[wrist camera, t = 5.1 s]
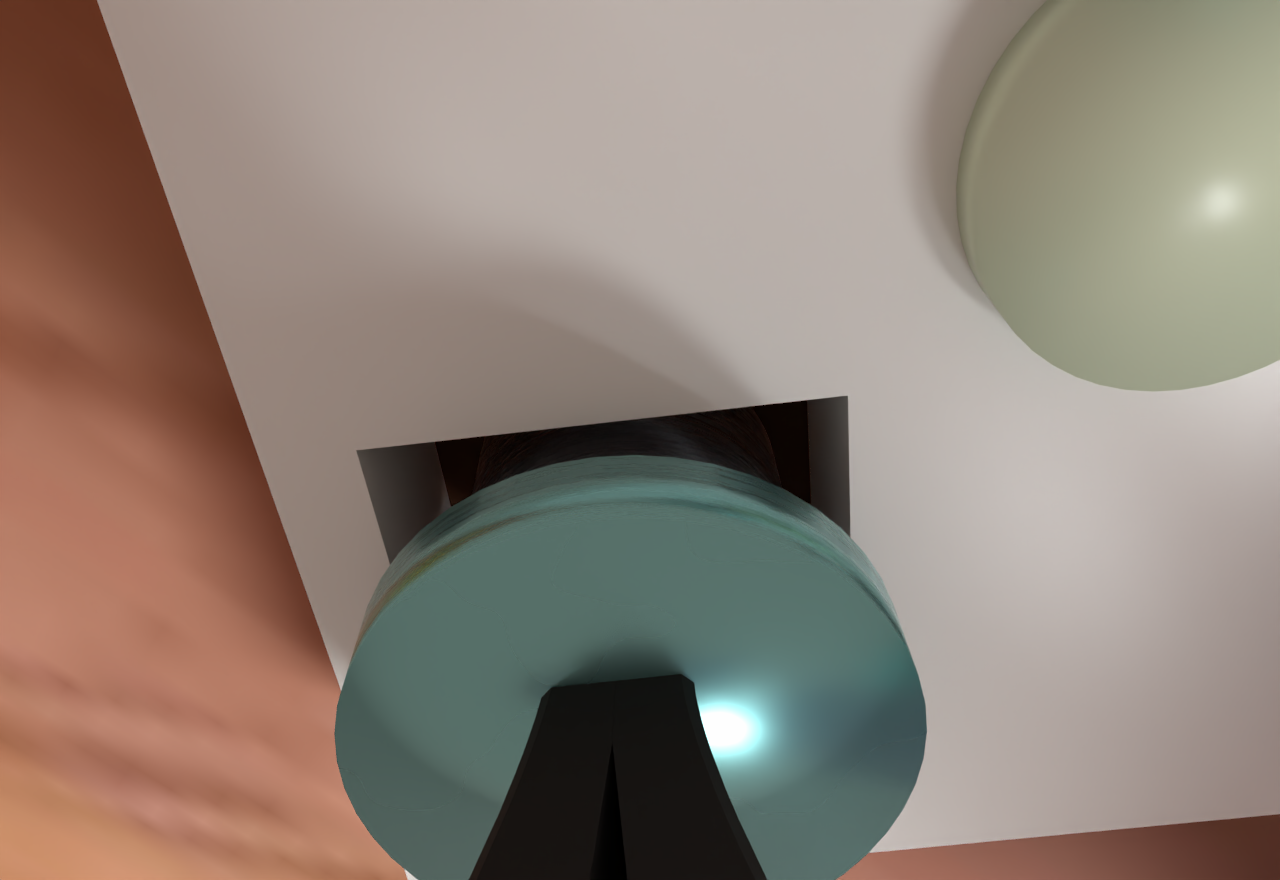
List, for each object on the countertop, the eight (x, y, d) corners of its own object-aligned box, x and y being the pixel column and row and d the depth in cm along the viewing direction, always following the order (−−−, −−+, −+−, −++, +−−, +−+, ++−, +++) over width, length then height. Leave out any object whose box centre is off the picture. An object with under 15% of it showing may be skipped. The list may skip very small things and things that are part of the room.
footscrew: (839, 623, 16) (920, 915, 11) (462, 661, 16) (409, 962, 12) (831, 265, 13) (935, 483, 9) (371, 318, 13) (258, 556, 9)
